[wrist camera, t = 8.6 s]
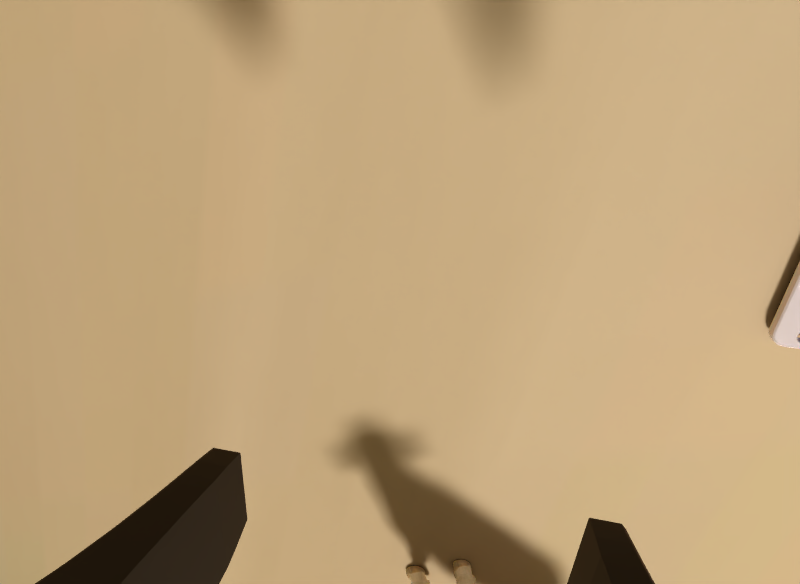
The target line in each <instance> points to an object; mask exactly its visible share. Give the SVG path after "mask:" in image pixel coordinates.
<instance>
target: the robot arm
mask: <svg viewBox="0 0 800 584" xmlns="http://www.w3.org/2000/svg"><path fill="white" fill-rule="evenodd" d="M799 334H800V262H799V264H798V266H797V268H796V270H795V273H794V275H793V277H792V279H791V281H790V284H789V286H788V288H787V290H786V293H785V295H784V297H783V299H782V301H781V304H780V306H779V308H778V310H777V312H776V315H775V317H774V319H773V321H772V324H771V326H770V328H769V335H770V337H771V338H772V340H773V341H774V342H775V343H776V344H778V345H780V346H783V347H790V348H797V349H800V338H797V336H798V335H799ZM246 521H247V512H246V503H245V493H244V484H243V474H242V465H241V455H240V453H238V452H233V451H227V450H222V449H217V448H213V449H211V450H210V451H209V452H207V453H206V454H205V455H204V456H202V457H201V458H200V459H199V460H198V461H196V462H195V463H194V464H193V465H191V466H190V467H189V468H188V469H187V470H185V471H184V472H183V473H182V474H181V475H179V476H178V477H177V478H176V479H175V480H173V481H172V482H171V483H170V484H168V485H167V486H166V487H165V488H164V489H162V490H161V491H160V492H159V493H157V494H156V495H155V496H154V497H153V498H151V499H150V500H149V501H147V502H146V503H145V504H144V505H142V506H141V507H140V508H139V509H137V510H136V511H135V512H133V513H132V514H131V515H130V516H128V517H127V518H126V519H125V520H123V521H122V522H121V523H120V524H118V525H117V526H116V527H114V528H113V529H112V530H110V531H109V532H108V533H106V534H105V535H104V536H102V537H101V538H99V539H98V540H97V541H95V542H94V543H93V544H91V545H90V546H88V547H87V548H86V549H84V550H83V551H82V552H80V553H79V554H77V555H76V556H75V557H73V558H72V559H71V560H69V561H68V562H66V563H65V564H63V565H62V566H61V567H59V568H58V569H56V570H55V571H53V572H52V573H50V574H49V575H47V576H46V577H44V578H43V579H41V580H40V581H38V582H37V583H35V584H219V583H220V581H221V579H222V577H223V575H224V573H225V572H226V570H227V568H228V565H229V563H230V561H231V558H232V556H233V554H234V551H235V549H236V546H237V544H238V542H239V539H240V536H241V534H242V531H243V529H244V526H245V524H246ZM567 584H655V583H654V581H653V580H652V578H651V576H650V574H649V572H648V570H647V569H646V567H645V565H644V563H643V561H642V559H641V557H640V555H639V554H638V552H637V550H636V548H635V546H634V544H633V542H632V540H631V538H630V536H629V534H628V532H627V531H626V529H625V528H624V526H623V525H622V524H620V523H614V522H609V521H603V520H598V519H593V518H589V520H588V523H587V526H586V529H585V532H584V535H583V538H582V541H581V544H580V547H579V550H578V553H577V556H576V559H575V562H574V565H573V568H572V571H571V574H570V577H569V580H568V583H567Z"/></svg>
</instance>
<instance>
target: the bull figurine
mask: <svg viewBox="0 0 800 584" xmlns="http://www.w3.org/2000/svg"><path fill="white" fill-rule="evenodd" d="M453 569H454V575H455V578H456V581H457V584H474V583H475V582H476V577H475V576H473V575H472V570H471V564H470V563H469V562H467V561H465V560H455V561H454V563H453ZM406 574H407V576H408V578H409V580H410V582H411V584H430V582H429V580H427V579H426V576H425V571H424V569H423V568H421V567H419V566H410V567H408V568H407V569H406Z"/></svg>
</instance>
